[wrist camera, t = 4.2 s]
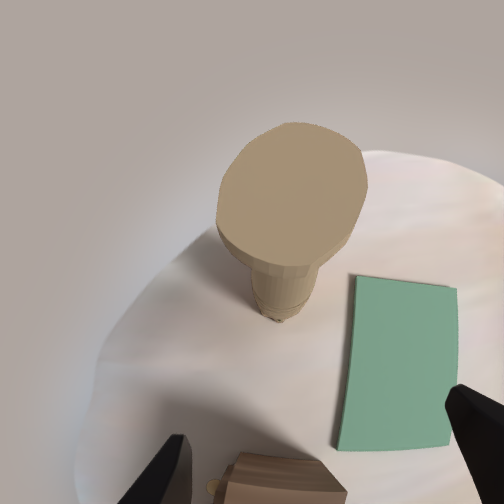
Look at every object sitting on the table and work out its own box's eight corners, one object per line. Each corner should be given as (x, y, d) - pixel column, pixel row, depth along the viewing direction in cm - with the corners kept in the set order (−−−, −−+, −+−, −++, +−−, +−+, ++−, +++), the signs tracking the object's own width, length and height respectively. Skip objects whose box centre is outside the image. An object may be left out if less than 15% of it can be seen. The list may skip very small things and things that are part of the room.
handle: (232, 325, 23) (186, 225, 10) (270, 257, 26) (273, 110, 12) (288, 353, 22) (327, 291, 9) (323, 282, 24) (381, 150, 11)
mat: (445, 444, 17) (449, 445, 17) (335, 449, 19) (337, 451, 18) (453, 290, 23) (456, 288, 23) (355, 278, 24) (357, 275, 24)
